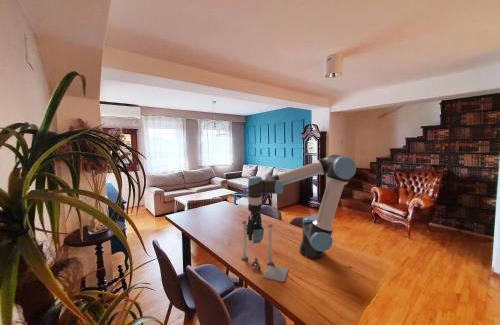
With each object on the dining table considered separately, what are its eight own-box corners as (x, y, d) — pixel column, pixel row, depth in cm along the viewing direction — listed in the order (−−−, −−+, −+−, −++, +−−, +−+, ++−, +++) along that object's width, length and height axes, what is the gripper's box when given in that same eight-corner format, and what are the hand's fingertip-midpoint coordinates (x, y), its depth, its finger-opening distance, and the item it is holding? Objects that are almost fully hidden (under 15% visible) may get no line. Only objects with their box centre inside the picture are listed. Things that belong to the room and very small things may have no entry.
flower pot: (249, 246, 118) (249, 230, 117) (245, 239, 127) (245, 224, 126) (264, 244, 120) (264, 229, 120) (259, 237, 129) (259, 223, 128)
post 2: (267, 261, 128) (267, 221, 125) (274, 262, 127) (274, 222, 124) (265, 264, 124) (266, 224, 122) (272, 266, 123) (272, 225, 120)
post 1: (242, 256, 133) (242, 218, 131) (248, 257, 132) (248, 219, 129) (240, 259, 130) (239, 220, 127) (246, 261, 128) (246, 221, 126)
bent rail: (255, 261, 128) (255, 256, 127) (264, 263, 126) (264, 258, 125) (250, 269, 120) (250, 264, 119) (259, 271, 118) (259, 266, 118)
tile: (268, 266, 123) (268, 265, 123) (288, 270, 119) (288, 269, 119) (263, 278, 112) (263, 277, 112) (284, 282, 109) (284, 281, 109)
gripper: (255, 197, 134) (255, 231, 136) (240, 209, 112) (240, 248, 114) (267, 198, 131) (266, 233, 133) (253, 210, 109) (253, 251, 111)
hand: (254, 240), depth 124 cm, fingers closed on flower pot, 11 cm apart
